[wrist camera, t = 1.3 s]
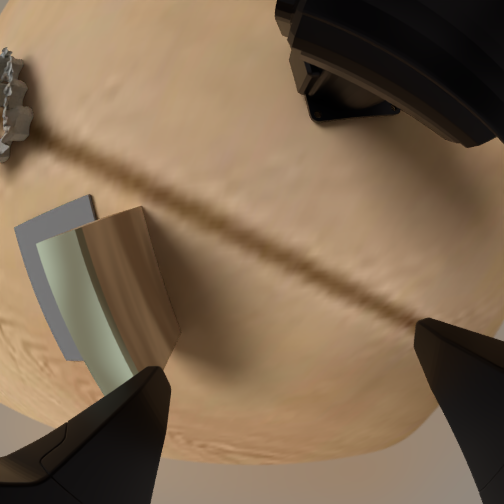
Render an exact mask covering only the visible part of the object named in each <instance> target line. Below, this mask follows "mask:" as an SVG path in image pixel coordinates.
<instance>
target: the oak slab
mask: <svg viewBox="0 0 504 504" xmlns="http://www.w3.org/2000/svg"><path fill="white" fill-rule="evenodd" d="M36 246H37V249H38V253H39V256H40V259H41V262H42V265H43V268H44V271H45V274H46V277H47V280H48V282H49V285H50V288H51V290H52V293H53V295H54V298H55V300H56V303H57V305H58V308H59V310H60V312H61V315H62V317H63V319H64V321H65V324H66V326H67V328H68V330H69V332H70V334H71V336H72V339H73V341H74V343H75V345H76V347H77V349H78V350H79V352H80V354H81V356H82V358H83V360H84V362H85V364H86V365H87V367H88V369H89V371H90V373H91V374H92V376H93V378H94V380H95V381H96V383H97V385H98V386H99V388H100V390H101V391H102V393H103V394H104V396H106V395H107V394H109V393H110V392H112V391H113V390H115V389H116V388H117V387H119V386H120V385H122V384H123V383H125V382H126V381H127V380H129V379H130V378H132V377H133V376H135V375H136V374H137V373H139V372H140V371H142V370H143V369H144V368H146V367H147V366H160V367H161V368H162V369H163V370H164V368H165V366H166V364H167V361H168V359H169V357H170V355H171V353H172V351H173V349H174V346H175V344H176V342H177V340H178V338H179V336H180V334H181V330H180V328H179V325H178V322H177V319H176V317H175V314H174V311H173V308H172V305H171V303H170V300H169V297H168V294H167V291H166V288H165V285H164V282H163V279H162V276H161V272H160V269H159V266H158V263H157V260H156V256H155V253H154V250H153V246H152V243H151V239H150V236H149V232H148V229H147V225H146V221H145V218H144V214H143V210H142V206H139V207H136V208H132V209H129V210H126V211H123V212H119V213H116V214H113V215H110V216H107V217H104V218H101V219H98V220H96V221H93V222H90V223H87V224H85V225H82V226H79V227H77V228H74V229H71V230H69V231H66V232H64V233H61V234H59V235H56V236H54V237H51V238H49V239H46V240H44V241H41V242H39V243H37V244H36Z"/></svg>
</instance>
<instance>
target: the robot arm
mask: <svg viewBox="0 0 504 504" xmlns="http://www.w3.org/2000/svg"><path fill="white" fill-rule="evenodd" d="M275 20H276V22H277V24H278V26H279V29H280V31H281V34H282V36H285V37H288V39H287V41H288V43H289V44H290V47H291V54H290V58H289V62H290V65H291V69H292V72H293V76H294V80H295V83H296V87H297V91H298V93H300V94H301V95H304V96H305V100H306V104H307V108H308V112H309V116H310V118H311V120H313V121H314V122H326V121H334V120H342V119H352V118H362V117H374V116H389V115H396V114H398V113H399V112H400V110H403V111H404V112H406V113H407V114H409V115H410V116H412V117H414V118H415V119H417V120H418V121H420V122H421V123H423V124H424V125H426V126H427V127H428V128H430V129H431V130H433V131H434V132H435V133H437V134H438V135H440V136H441V137H442V138H444V139H445V140H448V141H451V142H455V143H461V144H462V145H463V146H464V147H466V148H469V147H474V146H479V145H482V144H484V143H486V142H488V141H490V140H492V139H494V138H496V137H498V138H499V139H500V140H501V141H502V143H503V144H504V0H277V3H276V8H275ZM391 105H393V106H394V107H395V111H393V110H392V108H391ZM316 111H317V112H319V113H320V114H321V117H320V118H317V117H316V116H315V115H314V112H316ZM414 349H415V352H416V354H417V357H418V359H419V361H420V364H421V366H422V368H423V371H424V373H425V376H426V378H427V381H428V383H429V385H430V388H431V390H432V392H433V394H434V396H435V398H436V399H437V401H438V403H439V405H440V407H441V409H442V411H443V413H444V415H445V417H446V419H447V420H448V423H449V425H450V427H451V429H452V431H453V433H454V435H455V437H456V439H457V441H458V444H459V446H460V448H461V450H462V452H463V455H464V457H465V459H466V461H467V464H468V466H469V468H470V471H471V473H472V476H473V478H474V481H475V483H476V486H477V488H478V491H479V492H480V493H479V494H480V497H481V499H482V502H483V504H504V341H501V340H498V339H495V338H492V337H488V336H485V335H482V334H479V333H476V332H473V331H470V330H466V329H463V328H460V327H457V326H454V325H451V324H448V323H445V322H441V321H438V320H435V319H432V318H425V319H422V320H419V321H417V323H416V327H415V337H414ZM170 398H171V386H170V384H169V382H168V380H167V377H166V375H165V373H164V371H163V369H162V368H161V367H160V366H147V367H146V368H144V369H143V370H142V371H140V372H139V373H137V374H136V375H135V376H133V377H132V378H130V379H129V380H127V381H126V382H125V383H123V384H122V385H120V386H119V387H117V388H116V389H115V390H113V391H112V392H110V393H109V394H107V395H106V396H104V397H103V398H102V399H100V400H99V401H97V402H96V403H94V404H93V405H91V406H90V407H88V408H87V409H85V410H84V411H82V412H81V413H79V414H78V415H76V416H75V417H73V418H72V419H70V420H69V421H68V423H67V422H66V423H64V424H63V425H61V426H60V427H58V428H57V429H55V430H53V431H52V432H50V433H49V434H47V435H45V436H44V437H42V438H40V439H39V440H36V441H35V442H33V443H31V444H29V445H27V446H25V447H23V448H21V449H19V450H17V451H15V452H13V453H11V454H9V455H7V456H4V457H0V504H150V503H151V498H152V493H153V488H154V484H155V479H156V475H157V470H158V466H159V461H160V457H161V453H162V448H163V444H164V440H165V435H166V430H167V422H168V414H169V405H170Z"/></svg>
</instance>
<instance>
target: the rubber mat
mask: <svg viewBox="0 0 504 504" xmlns="http://www.w3.org/2000/svg"><path fill="white" fill-rule="evenodd" d="M96 220H97V219H96V216H95V212H94V208H93V204H92V200H91V196H90V194H89V195H86V196H83V197H81V198H78V199H76V200H74V201H71V202H69V203H66V204H64V205H62V206H59V207H57V208H55V209H52V210H50V211H48V212H46V213H43V214H41V215H39V216H37V217H35V218H33V219H31V220H28V221H26V222H24V223H22V224H20V225H18V226H16V227H14V230H15V234H16V237H17V241H18V244H19V248H20V251H21V255H22V258H23V261H24V264H25V267H26V270H27V273H28V276H29V279H30V281H31V284H32V287H33V290H34V292H35V295H36V297H37V300H38V302H39V305H40V307H41V309H42V312H43V314H44V316H45V319H46V321H47V323H48V325H49V327H50V329H51V332H52V334H53V336H54V338H55V340H56V342H57V344H58V346H59V348H60V350H61V351H62V353H63V355H64V357H65V359H66V360H69V361H84V360H83V358H82V356H81V354H80V352H79V350H78V349H77V347H76V345H75V343H74V341H73V339H72V336H71V334H70V332H69V330H68V328H67V326H66V324H65V321H64V319H63V317H62V315H61V312H60V310H59V308H58V305H57V303H56V300H55V298H54V295H53V293H52V290H51V288H50V285H49V282H48V280H47V277H46V274H45V271H44V268H43V265H42V262H41V259H40V256H39V253H38V249H37V246H36V244H37V243H39V242H41V241H44V240H46V239H49V238H51V237H54V236H56V235H59V234H61V233H64V232H66V231H69V230H71V229H74V228H77V227H79V226H82V225H85V224H87V223H90V222H93V221H96Z"/></svg>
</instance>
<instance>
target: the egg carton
mask: <svg viewBox="0 0 504 504" xmlns="http://www.w3.org/2000/svg"><path fill="white" fill-rule="evenodd" d="M2 52H3V53H2V54H1V55H0V107H3V106H4V110H3V119H4V120H3V129H4V131H5V134H4V135H3V136H2V138H1V139H0V163H2V162H5V161H6V160H7V159H8V158H9V157H10V146H11V143H12V141H24V140H25V139H26V138H27V137H28V136H29V127H30V123H31V121H32V119H33V111H32V108H29V107H28V106H27V107H23V98H24V95H25V93H26V91H27V90H28V88H27V86H26V83H24V82H22V81H21V80H18V75H19V72H20V70H21V69H22V67H23V60H22V59H15V58H14V57H13V56H11V54H12V52H11V51H8V50H7V47H6V48H4V49H3V50H2ZM3 80H4V81H7V82H9V83H8V84H3V83H2V82H3Z"/></svg>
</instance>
